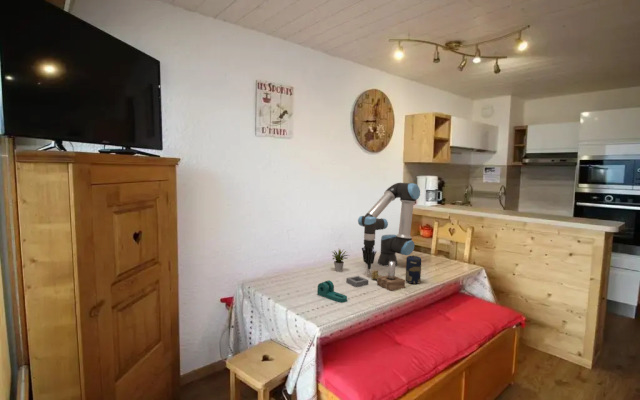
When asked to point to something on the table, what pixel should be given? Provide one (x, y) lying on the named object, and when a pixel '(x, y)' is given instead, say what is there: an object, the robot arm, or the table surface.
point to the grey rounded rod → (391, 270)
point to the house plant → (339, 260)
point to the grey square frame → (357, 281)
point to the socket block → (391, 283)
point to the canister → (413, 269)
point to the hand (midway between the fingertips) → (367, 273)
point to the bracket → (330, 292)
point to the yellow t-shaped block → (375, 275)
